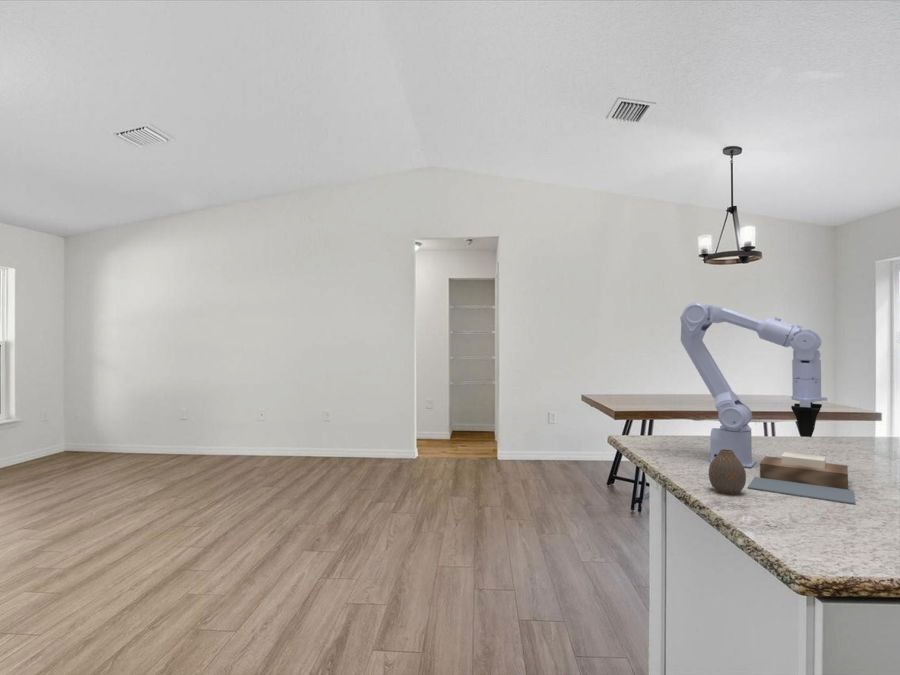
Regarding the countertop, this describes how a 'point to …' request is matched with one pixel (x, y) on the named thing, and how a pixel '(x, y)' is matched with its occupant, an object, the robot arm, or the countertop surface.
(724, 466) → the vase
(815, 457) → the tile
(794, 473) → the block
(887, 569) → the countertop surface
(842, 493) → the mat
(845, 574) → the countertop surface
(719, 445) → the robot arm
